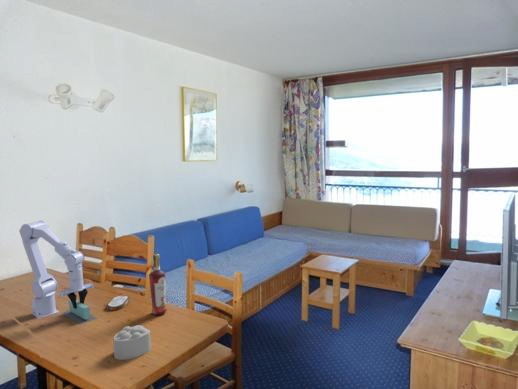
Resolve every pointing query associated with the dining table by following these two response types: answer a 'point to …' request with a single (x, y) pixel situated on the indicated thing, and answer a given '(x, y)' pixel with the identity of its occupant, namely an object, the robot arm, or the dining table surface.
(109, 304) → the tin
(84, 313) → the teal rectangular block
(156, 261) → the liquor
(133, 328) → the lumpy-topped squat cylinder
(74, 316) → the tool mat
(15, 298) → the dining table surface
